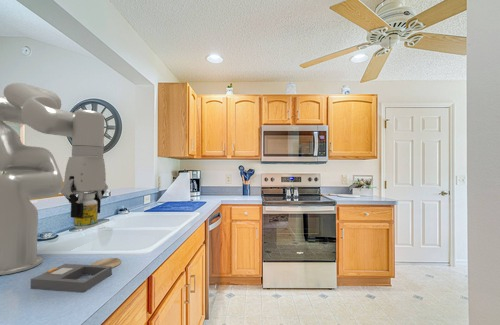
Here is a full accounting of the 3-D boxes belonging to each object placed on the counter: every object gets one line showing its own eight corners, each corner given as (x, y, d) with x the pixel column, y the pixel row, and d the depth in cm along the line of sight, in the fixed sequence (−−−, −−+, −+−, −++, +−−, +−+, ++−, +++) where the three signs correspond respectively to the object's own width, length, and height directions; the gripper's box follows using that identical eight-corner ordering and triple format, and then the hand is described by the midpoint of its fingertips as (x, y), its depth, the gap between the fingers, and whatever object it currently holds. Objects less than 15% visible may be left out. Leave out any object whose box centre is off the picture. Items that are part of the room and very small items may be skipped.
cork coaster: (82, 270, 71) (82, 268, 71) (103, 259, 80) (103, 257, 80) (107, 271, 70) (107, 269, 70) (126, 260, 79) (126, 258, 79)
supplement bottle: (97, 223, 69) (98, 192, 69) (96, 227, 64) (97, 193, 64) (75, 225, 66) (76, 193, 66) (72, 230, 61) (74, 194, 61)
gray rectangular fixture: (30, 288, 61) (30, 277, 61) (65, 271, 70) (65, 262, 71) (83, 292, 59) (84, 281, 59) (111, 274, 69) (111, 265, 69)
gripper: (99, 155, 74) (97, 209, 74) (47, 150, 57) (44, 221, 57) (120, 155, 74) (118, 210, 73) (73, 150, 57) (70, 222, 56)
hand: (86, 214), depth 65 cm, fingers closed on supplement bottle, 5 cm apart
